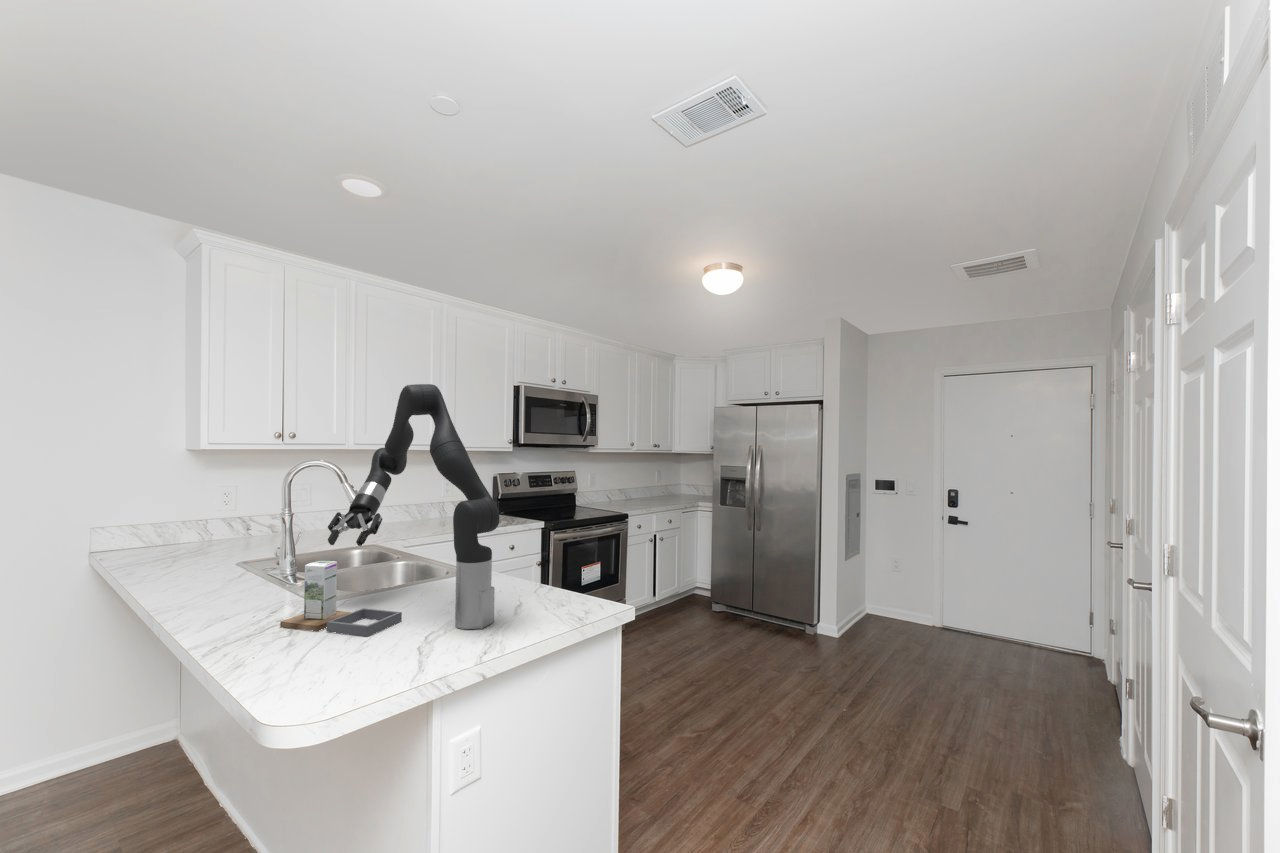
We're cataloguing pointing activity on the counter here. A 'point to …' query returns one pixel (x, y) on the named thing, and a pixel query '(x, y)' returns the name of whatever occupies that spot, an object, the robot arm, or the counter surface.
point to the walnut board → (309, 622)
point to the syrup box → (320, 590)
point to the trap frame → (346, 627)
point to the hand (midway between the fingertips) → (344, 544)
